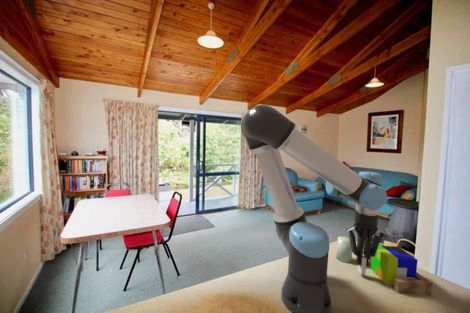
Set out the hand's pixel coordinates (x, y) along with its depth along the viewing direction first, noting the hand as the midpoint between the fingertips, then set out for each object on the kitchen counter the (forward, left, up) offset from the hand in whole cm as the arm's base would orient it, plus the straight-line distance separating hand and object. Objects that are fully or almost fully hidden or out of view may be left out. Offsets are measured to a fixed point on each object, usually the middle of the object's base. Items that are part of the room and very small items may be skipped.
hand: (361, 272), depth 84 cm
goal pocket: (+13, 0, -1) cm, 13 cm away
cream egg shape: (-1, +12, -1) cm, 12 cm away
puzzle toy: (+12, +1, -2) cm, 12 cm away
